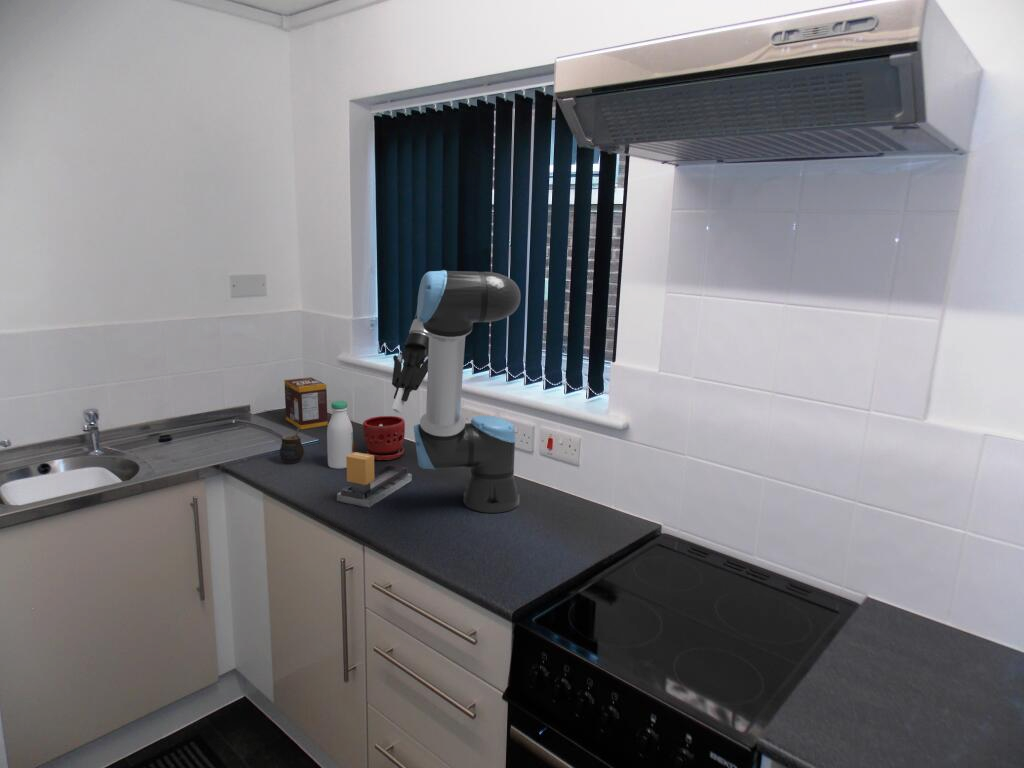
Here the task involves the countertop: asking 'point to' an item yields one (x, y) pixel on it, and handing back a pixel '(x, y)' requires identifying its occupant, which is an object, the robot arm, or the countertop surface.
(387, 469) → the fader strip
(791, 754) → the countertop surface
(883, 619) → the countertop surface
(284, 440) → the mate gourd
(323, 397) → the supplement box
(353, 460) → the fader knob
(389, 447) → the plant pot
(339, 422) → the milk bottle
